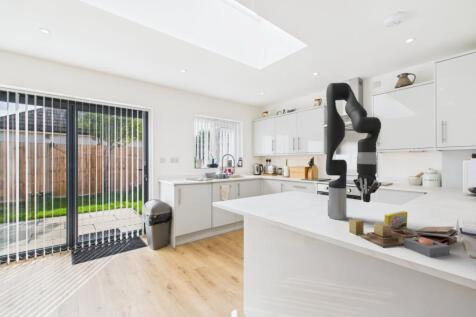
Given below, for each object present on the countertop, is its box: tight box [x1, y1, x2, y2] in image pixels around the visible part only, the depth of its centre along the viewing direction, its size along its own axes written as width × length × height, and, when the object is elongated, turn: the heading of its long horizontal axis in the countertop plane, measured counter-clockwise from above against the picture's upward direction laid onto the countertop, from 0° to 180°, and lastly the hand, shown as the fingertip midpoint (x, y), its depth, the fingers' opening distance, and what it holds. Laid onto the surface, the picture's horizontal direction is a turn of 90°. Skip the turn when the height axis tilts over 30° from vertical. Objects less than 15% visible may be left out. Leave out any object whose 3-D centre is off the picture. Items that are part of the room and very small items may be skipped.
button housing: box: [403, 236, 451, 258], centre depth 77 cm, size 9×9×3 cm
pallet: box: [359, 229, 421, 248], centre depth 88 cm, size 11×22×2 cm, turn 103°
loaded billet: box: [373, 222, 391, 238], centre depth 87 cm, size 4×4×6 cm
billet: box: [348, 218, 365, 236], centre depth 96 cm, size 4×4×6 cm
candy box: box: [383, 210, 408, 230], centre depth 99 cm, size 16×2×8 cm, turn 117°
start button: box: [419, 237, 434, 246], centre depth 77 cm, size 4×4×4 cm
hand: (366, 201), depth 93 cm, fingers closed
